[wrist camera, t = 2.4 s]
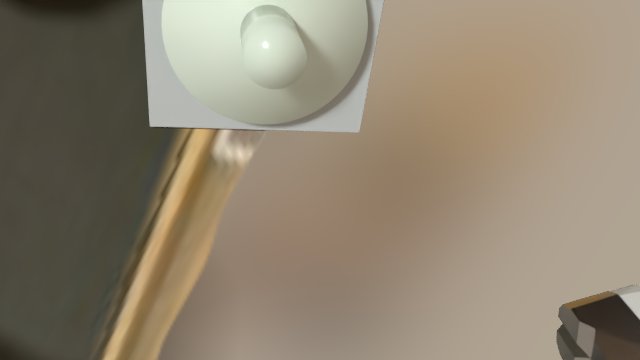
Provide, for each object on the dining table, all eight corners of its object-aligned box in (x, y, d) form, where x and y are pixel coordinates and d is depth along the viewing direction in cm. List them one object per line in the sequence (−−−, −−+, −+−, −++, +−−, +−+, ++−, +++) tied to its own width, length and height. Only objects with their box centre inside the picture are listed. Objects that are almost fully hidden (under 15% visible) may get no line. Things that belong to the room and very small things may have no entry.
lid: (347, 118, 33) (367, 160, 29) (167, 112, 31) (160, 157, 26) (378, -73, 27) (409, -54, 23) (157, -96, 25) (146, -81, 21)
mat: (358, 129, 34) (359, 132, 34) (150, 123, 31) (149, 126, 31) (398, -92, 27) (401, -91, 27) (136, -125, 24) (135, -124, 24)
